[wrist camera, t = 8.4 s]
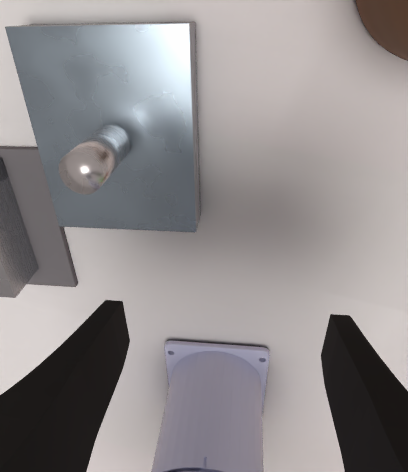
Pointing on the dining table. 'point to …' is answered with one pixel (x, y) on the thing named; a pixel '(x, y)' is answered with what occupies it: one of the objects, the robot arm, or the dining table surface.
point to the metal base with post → (114, 121)
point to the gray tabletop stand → (13, 242)
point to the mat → (39, 217)
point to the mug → (387, 23)
